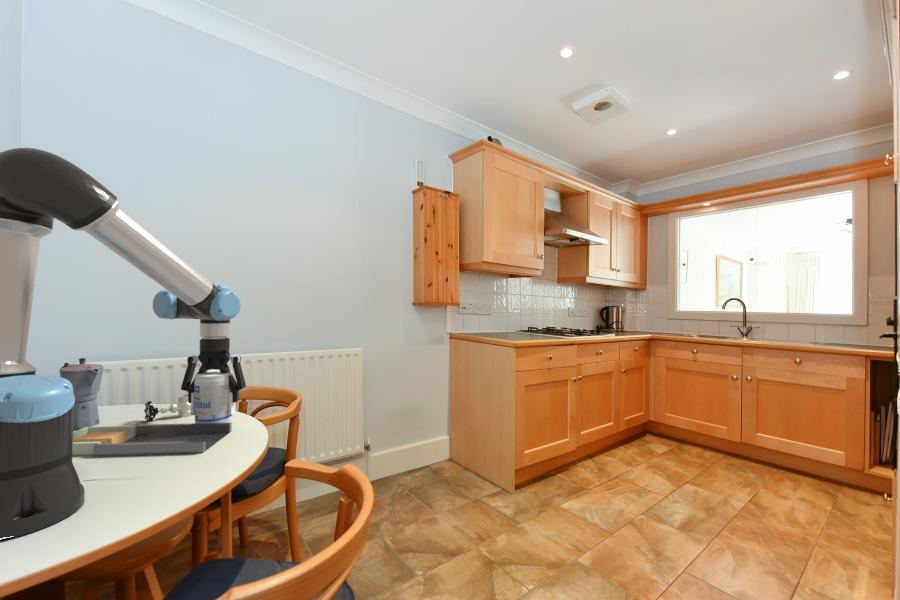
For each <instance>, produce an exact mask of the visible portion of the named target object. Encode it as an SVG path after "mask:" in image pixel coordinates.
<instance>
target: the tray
mask: <svg viewBox="0 0 900 600" xmlns="http://www.w3.org/2000/svg"><path fill="white" fill-rule="evenodd" d="M136 426H137V425H136V424H133V425H132V424H130V425H129V424H128V425H126V424H125V425H94V426H87V427H85V428H82V429H80V430H74V431H73V445H72V456H91V455H92V456H94V445H96V444H101V442H74V439H77V438H79V437H81V436H83V435H86V434H88V433H92V432H124V431H126V438H125V440H127V439H129V438H131V437H133V436H135V435H136Z"/></svg>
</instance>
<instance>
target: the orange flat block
mask: <svg viewBox="0 0 900 600" xmlns="http://www.w3.org/2000/svg"><path fill="white" fill-rule="evenodd" d="M125 438H126V431H124V432H107V433H105V434H103V435H101V436H99V437H96V438H94V439H93V442H101V444H107V443H123V442H125Z"/></svg>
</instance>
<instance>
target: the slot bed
mask: <svg viewBox="0 0 900 600" xmlns="http://www.w3.org/2000/svg"><path fill="white" fill-rule="evenodd" d="M232 424H233V423H232V422H227V423H195V422H193V423H162V424H161V423H156V424H155V423H151V424H149V423H148V424H138V425H136V435H135V436H133V437H131V438H129V439H127V440H125V442H123V443H107V444H96V445H94V455H92V457H93V458H99V457H101V458H105V457H109V458H110V457H132V456H135V457H136V456H137V457H138V456H165V455H167V456H168V455H169V456H171V455H172V456H173V455H197V454H198V455H200V454H204V453H205V452H206V451H208V450H209V449H210V448H212V447H214V445H215V444H217V443H218V442H220V441H221V440H223V439H224V438H225V437H226V436H227V435H229V434H230V433H231V432H232Z"/></svg>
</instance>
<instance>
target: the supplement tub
mask: <svg viewBox="0 0 900 600" xmlns="http://www.w3.org/2000/svg"><path fill="white" fill-rule="evenodd" d="M230 371H231V372H229V373H222V372H220V370H215V369H211V370H208V371H207V372H205V373H203V374H197V373H194V378H195V381H194V396H195V415H194V423H230V421H232V419H233V416H234V415H233V414H234V413H233V414H232V415H228V413H229V392H231V391H232V390H231V388H230V386H229V378H228V375H229V376H231V375H233V371H232V370H231V369H230Z"/></svg>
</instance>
